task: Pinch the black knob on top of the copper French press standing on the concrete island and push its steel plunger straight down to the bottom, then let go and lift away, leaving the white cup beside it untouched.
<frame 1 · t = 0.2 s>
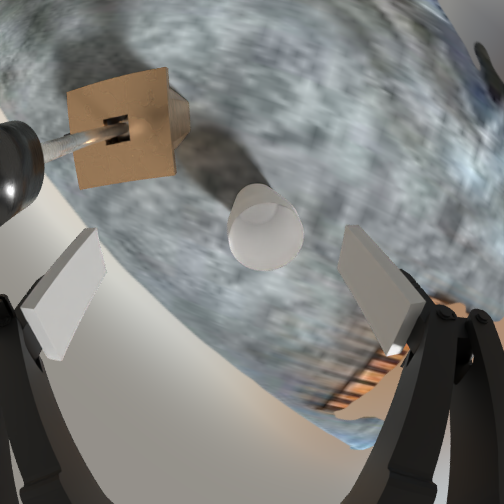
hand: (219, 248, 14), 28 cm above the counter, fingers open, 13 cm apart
cup: (256, 203, 43), on the counter
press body: (154, 121, 35), on the counter
plunger: (80, 140, 16), point 22 cm above the counter, slide at 0.0 cm
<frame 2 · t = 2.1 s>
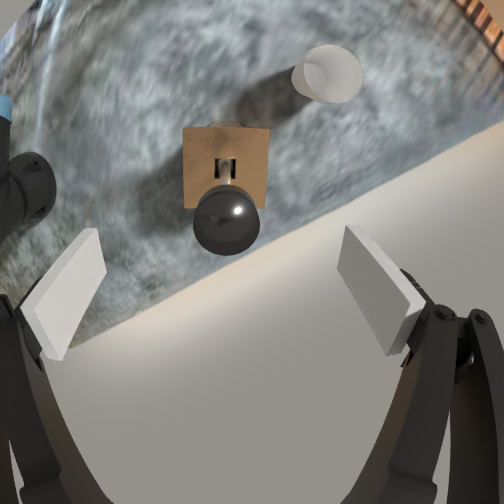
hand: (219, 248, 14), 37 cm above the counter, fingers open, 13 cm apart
cup: (309, 79, 42), on the counter
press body: (224, 150, 47), on the counter
plunger: (225, 184, 27), point 22 cm above the counter, slide at 0.0 cm
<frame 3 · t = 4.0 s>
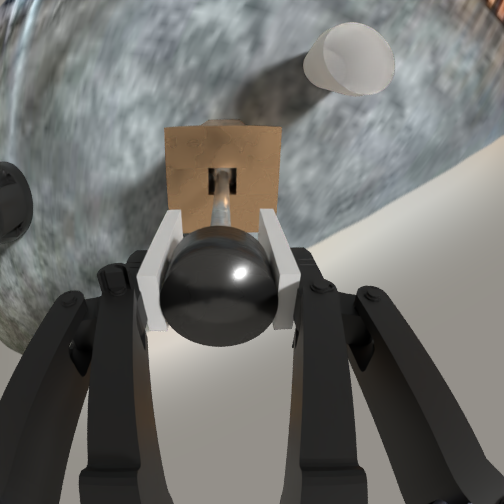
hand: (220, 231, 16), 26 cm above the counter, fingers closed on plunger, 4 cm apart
cup: (324, 68, 33), on the counter
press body: (223, 154, 38), on the counter
plunger: (221, 208, 19), point 22 cm above the counter, slide at 0.0 cm, touching gripper
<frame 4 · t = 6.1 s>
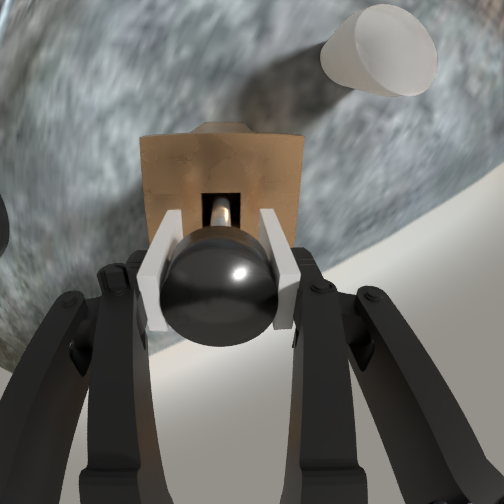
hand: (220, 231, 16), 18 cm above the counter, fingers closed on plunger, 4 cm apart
cup: (345, 61, 26), on the counter
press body: (223, 165, 32), on the counter
plunger: (221, 208, 19), point 15 cm above the counter, slide at 7.7 cm, touching gripper
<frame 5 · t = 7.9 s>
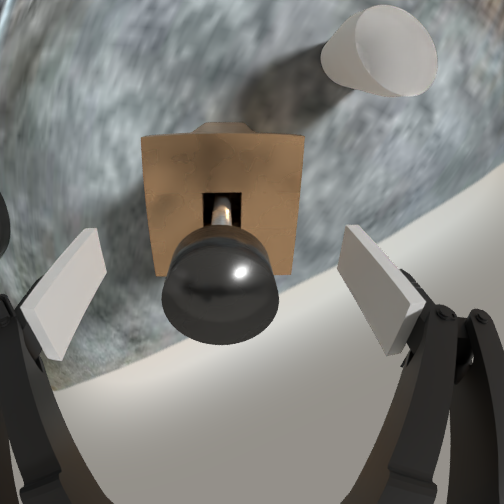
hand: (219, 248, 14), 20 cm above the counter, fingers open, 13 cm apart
cup: (345, 62, 26), on the counter
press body: (223, 165, 32), on the counter
plunger: (222, 208, 19), point 15 cm above the counter, slide at 7.7 cm
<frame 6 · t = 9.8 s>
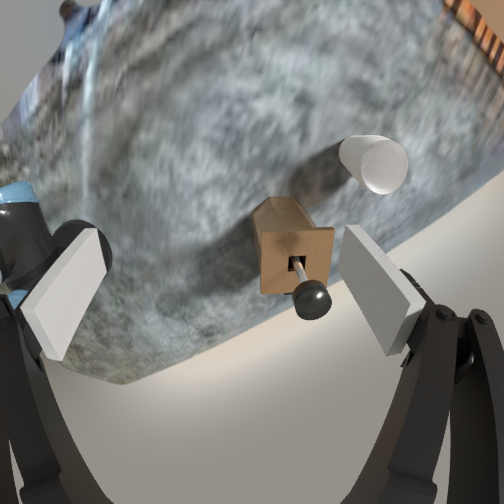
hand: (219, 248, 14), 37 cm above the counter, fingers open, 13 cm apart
cup: (353, 152, 48), on the counter
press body: (279, 222, 54), on the counter
plunger: (296, 262, 41), point 15 cm above the counter, slide at 7.7 cm
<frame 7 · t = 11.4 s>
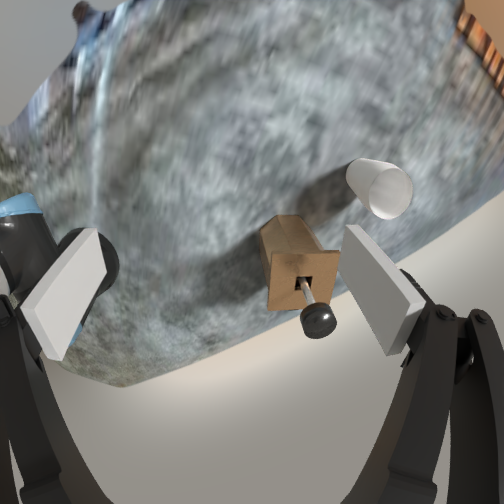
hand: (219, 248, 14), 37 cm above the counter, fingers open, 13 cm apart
cup: (360, 174, 51), on the counter
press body: (285, 239, 56), on the counter
plunger: (302, 281, 43), point 15 cm above the counter, slide at 7.7 cm
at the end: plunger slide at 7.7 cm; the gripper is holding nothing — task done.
